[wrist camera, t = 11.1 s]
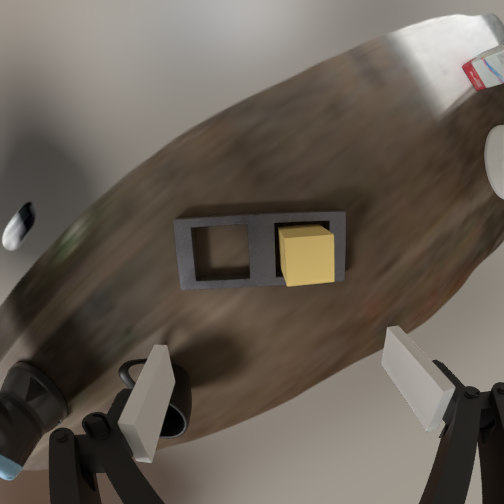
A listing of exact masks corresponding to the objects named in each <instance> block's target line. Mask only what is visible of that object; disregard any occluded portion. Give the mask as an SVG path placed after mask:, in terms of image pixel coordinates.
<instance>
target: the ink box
mask: <svg viewBox="0 0 504 504" xmlns="http://www.w3.org/2000/svg"><path fill="white" fill-rule="evenodd" d="M462 68H463V70H464V72H465V73H466V75H467V76H468V78H469V80H470V81H471V83H472V84H473V86H474V88H475V89H476V91H479V90H482V89H486V88H489V87H493V86H496V85H500V84H503V83H504V44H502V45H500V46H497V47H495V48H492V49H490V50H487V51H485V52H483V53H481V54H480V55H478V56H477V57H475V58H474V59H472V60H470V61H469V62H467V63H466V64H464V65H463V66H462Z"/></svg>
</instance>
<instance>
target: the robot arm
mask: <svg viewBox="0 0 504 504" xmlns="http://www.w3.org/2000/svg"><path fill="white" fill-rule="evenodd" d="M381 365H382V366H383V367H384V369H385V370H386V372H387V373H388V374H389V376H390V377H391V379H392V380H393V382H394V383H395V385H396V386H397V388H398V389H399V391H400V392H401V394H402V395H403V396H404V398H405V400H406V401H407V403H408V404H409V406H410V407H411V409H412V410H413V411H414V413H415V415H416V416H417V418H418V419H419V420H420V422H421V424H422V425H423V427H424V428H425V430H426V432H428V431H430V430H433V429H436V428H438V427H439V425H440V423H441V421H442V419H443V421H444V422H445V423H446V424H445V426H444V428H443V430H442V432H441V434H440V436H439V438H441V441H440V444H439V447H438V451H437V454H436V457H435V461H434V464H433V467H432V470H431V473H430V476H429V479H428V481H427V484H426V487H425V489H424V492H423V495H422V497H421V500H420V502H419V504H464V503H465V500H466V496H467V492H468V488H469V484H470V479H471V475H472V470H473V465H474V460H475V453H476V447H477V442H478V449H479V457H480V467H481V480H482V498H483V499H482V503H483V504H504V383H502V382H499V383H496V384H494V385H493V387H492V389H491V391H488V392H480V391H479V390H478V389H477V388H475V387H471V386H467V387H465V386H464V385H463V384H462V383H461V382H460V381H459V380H458V378H457V377H455V375H454V374H452V372H451V371H450V370H448V368H447V367H446V366H445V365H444V364H443V363H441V362H439V361H438V360H433V361H431V360H430V359H429V357H428V356H427V355H426V354H425V353H424V352H423V351H422V350H421V349H420V348H419V347H418V346H417V345H416V344H415V343H414V342H413V341H412V340H411V339H410V338H409V337H408V335H407V334H406V333H405V332H404V331H403V330H402V329H401V328H400V327H399V326H393V327H387V333H386V339H385V345H384V351H383V357H382V362H381ZM174 384H175V378H174V374H173V370H172V366H171V361H170V357H169V352H168V347H167V345H154V347H153V349H152V351H151V353H150V355H149V357H148V359H147V361H146V363H145V365H144V368H143V370H142V372H141V374H140V376H139V378H138V380H137V382H136V384H135V386H134V388H133V389H123V390H122V391H120V392H119V393H118V394H117V396H116V398H115V399H114V402H113V403H112V405H111V407H110V409H109V411H108V413H107V415H106V414H104V413H102V412H94V413H90V414H88V415H87V416H86V417H85V418H83V421H82V427H83V429H84V431H85V432H86V434H84V435H74V433H73V432H72V431H71V430H70V429H68V428H58V429H56V430H54V431H53V432H52V433H51V434H50V438H49V487H50V502H51V504H102V503H101V498H100V493H99V488H98V483H97V477H96V473H106V474H107V476H108V478H109V480H110V481H111V483H112V485H113V487H114V488H115V490H116V492H117V494H118V495H119V497H120V498H121V500H122V502H123V503H124V504H165V503H164V502H163V501H162V500H161V498H160V497H159V496H158V495H157V493H156V492H155V491H154V489H153V488H152V487H151V485H150V484H149V482H148V481H147V480H146V478H145V477H144V475H143V474H142V473H141V471H140V470H139V468H138V467H137V465H136V464H135V462H134V461H133V459H132V456H133V455H134V457H135V459H136V461H141V462H148V463H152V460H153V457H154V453H155V449H156V446H157V442H158V439H159V435H160V432H161V428H162V425H163V421H164V418H165V414H166V411H167V408H168V404H169V401H170V398H171V394H172V391H173V388H174ZM67 413H68V408H67V404H66V401H65V399H64V397H63V395H62V394H61V392H60V391H59V389H58V388H57V387H56V385H55V384H54V383H53V382H52V381H51V380H50V379H49V378H48V377H47V376H46V375H45V374H44V373H43V372H41V371H40V370H39V369H37V368H36V367H34V366H32V365H30V364H28V363H25V362H17V363H15V364H14V365H13V366H12V367H11V368H10V369H9V371H8V372H7V376H6V378H5V380H4V383H3V385H2V388H1V390H0V477H1V478H3V479H6V480H13V479H15V477H16V476H17V475H18V473H19V472H20V471H21V470H22V469H23V466H24V465H25V463H26V461H27V460H28V458H29V456H30V455H31V453H32V452H33V450H34V448H35V447H36V445H37V444H38V442H39V440H40V439H41V437H42V436H43V435H44V434H45V433H47V432H49V431H50V430H52V429H53V428H55V427H56V426H58V425H60V424H61V423H62V422H63V420H64V419H65V417H66V416H67Z"/></svg>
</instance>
